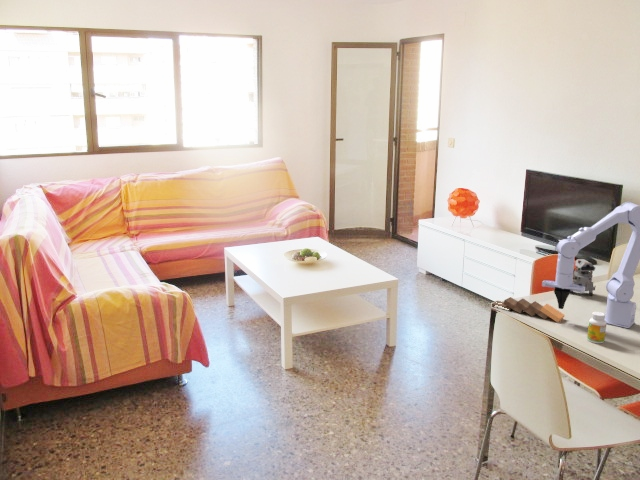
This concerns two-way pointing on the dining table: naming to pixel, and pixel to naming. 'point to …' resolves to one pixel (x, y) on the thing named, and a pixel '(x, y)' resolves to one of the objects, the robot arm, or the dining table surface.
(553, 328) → the dining table surface
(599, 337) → the supplement bottle
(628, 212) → the robot arm
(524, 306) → the tile
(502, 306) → the tile
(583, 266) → the figurine
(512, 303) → the tile
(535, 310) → the tile
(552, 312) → the orange tile
